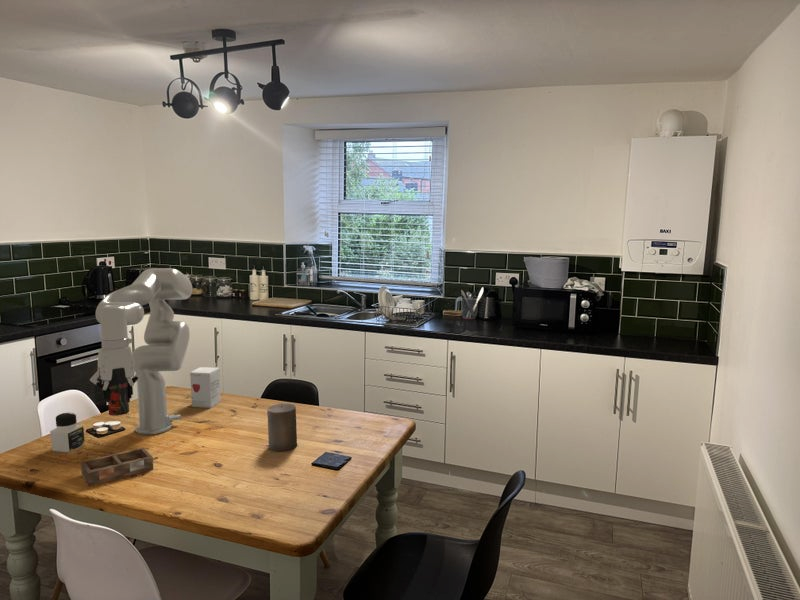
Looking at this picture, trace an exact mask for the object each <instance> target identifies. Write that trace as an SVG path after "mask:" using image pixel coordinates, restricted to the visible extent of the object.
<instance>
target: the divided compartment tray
mask: <svg viewBox="0 0 800 600" xmlns="http://www.w3.org/2000/svg"><path fill="white" fill-rule="evenodd" d="M80 467H81V468H80V469H81V476H82V475H83V476H82V477H83V479H84V480H85V482H86V483H87V485H88V486H89V487H92V486H96V485H99V484H102V482H103V483H107V482H111V481H114V479H115V480H118V479H122V478H126V477H129V476H133V475H136V474H137V475H138V474H141V473H145V472H148V471H152V470H154V459H153V456H152V455H151V453H150V452H148V451H147V449H145V447H143V446H142V447H138V448H135V449H134V448H133V449H131V450H126V451H122V452H118V453H113V454H110V455H106V456H105V455H104V456H101V457H97V458H92V459H88V460H85V461H84V460H83V461H80ZM110 480H111V481H110ZM106 481H107V482H106ZM95 484H96V485H95ZM91 485H92V486H91Z"/></svg>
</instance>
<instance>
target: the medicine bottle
mask: <svg viewBox="0 0 800 600" xmlns="http://www.w3.org/2000/svg"><path fill="white" fill-rule="evenodd" d="M77 421H78V419H77V414H76V413H74V412H70V411H69V412H63V413H59V414H57V415H56V416H55V427H56V428H54V429H51V430H50V432H49V433H50V443H51V444H50V445H51V451H52V452H60V453H72V452H74V451H75V450H77V449H79V448H81V447H84V446H85V445H86V442H85V441H86V440H85V432H84V431H85V430H84V425H82V424H78V422H77Z"/></svg>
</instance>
